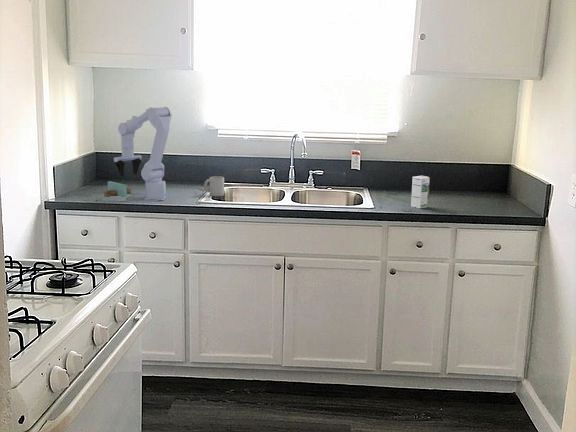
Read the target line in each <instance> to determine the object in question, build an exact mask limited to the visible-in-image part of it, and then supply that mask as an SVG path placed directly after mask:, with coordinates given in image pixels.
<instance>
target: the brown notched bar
mask: <svg viewBox="0 0 576 432" xmlns="http://www.w3.org/2000/svg"><path fill="white" fill-rule="evenodd" d="M131 189H132V188H131V187H127V194H131V193H132V192H131ZM102 193H103V194H104V197H110V196H117V193H116V190H108V189H107V190H103V192H102Z"/></svg>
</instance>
